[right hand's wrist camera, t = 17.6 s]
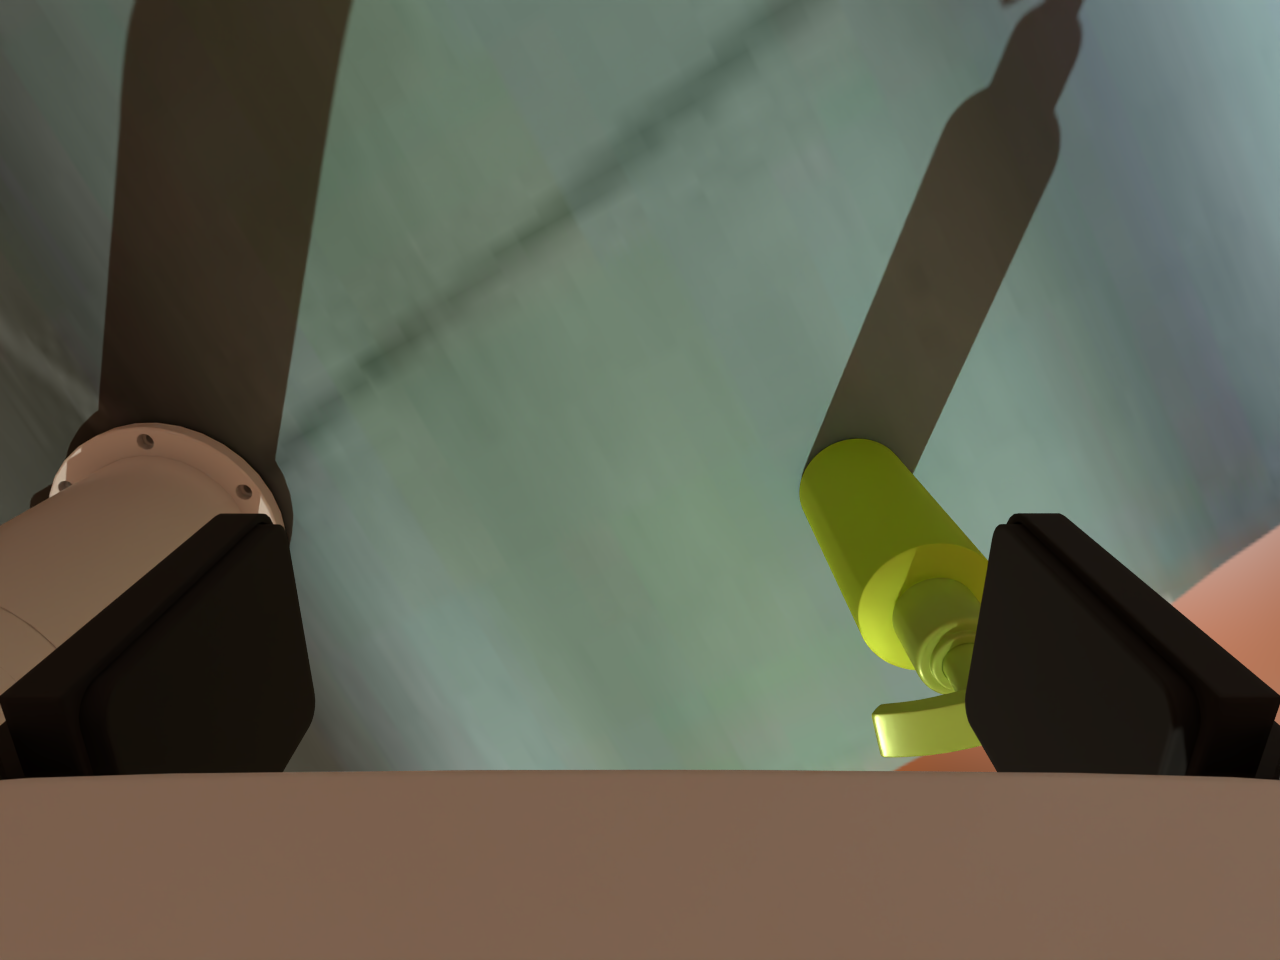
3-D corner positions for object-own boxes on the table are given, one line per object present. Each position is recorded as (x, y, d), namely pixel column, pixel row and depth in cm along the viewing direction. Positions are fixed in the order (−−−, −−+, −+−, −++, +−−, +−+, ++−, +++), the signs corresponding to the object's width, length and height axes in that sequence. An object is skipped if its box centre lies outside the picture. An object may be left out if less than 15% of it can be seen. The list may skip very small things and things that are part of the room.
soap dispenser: (770, 459, 45) (863, 673, 26) (895, 425, 44) (1084, 620, 25) (793, 552, 47) (895, 813, 28) (914, 521, 46) (1101, 767, 27)
